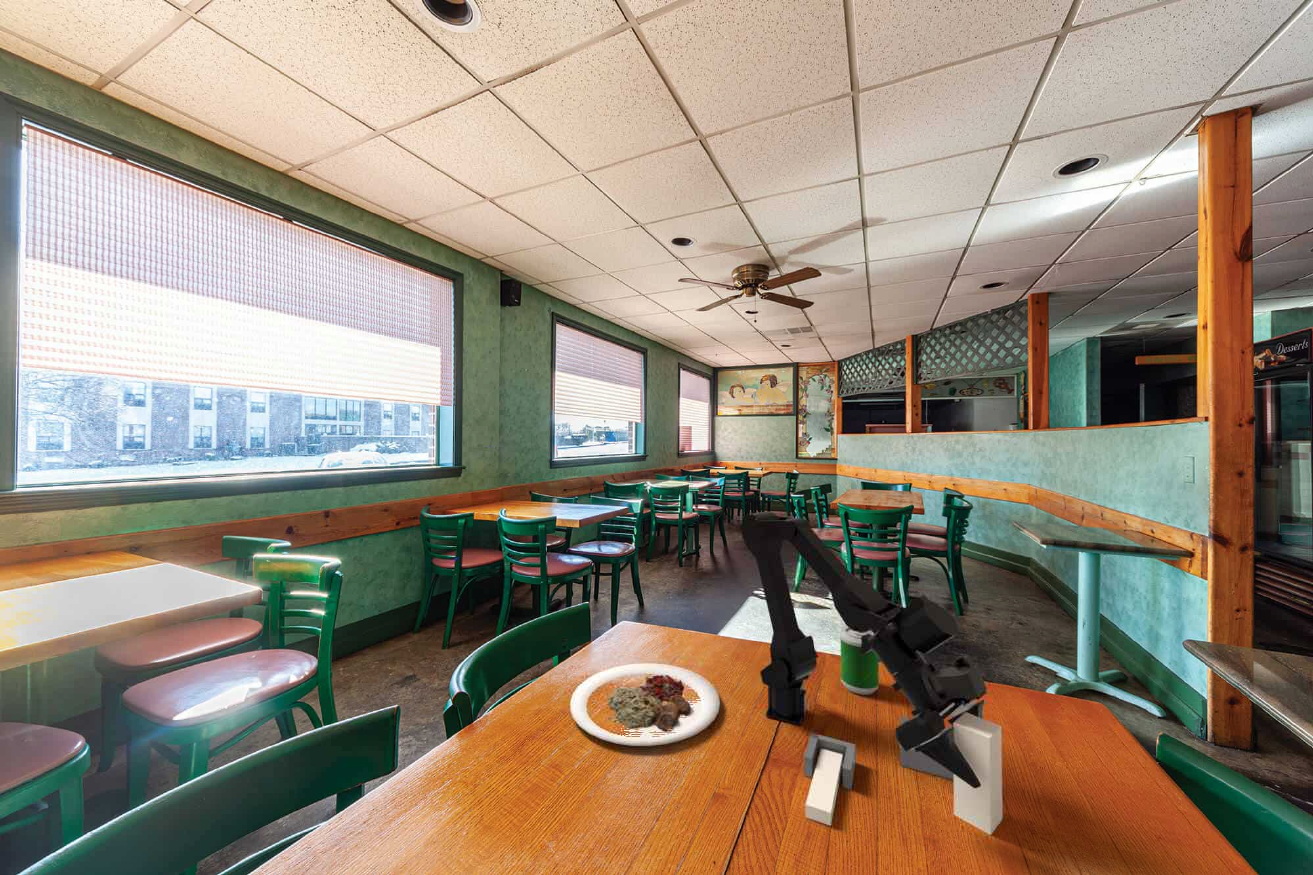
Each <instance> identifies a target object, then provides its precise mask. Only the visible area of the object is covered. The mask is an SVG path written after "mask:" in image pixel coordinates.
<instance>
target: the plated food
mask: <svg viewBox="0 0 1313 875" xmlns="http://www.w3.org/2000/svg"><path fill="white" fill-rule="evenodd" d="M643 674H653V675H656V676H652V678H650V677H649V678H648V677H646V680H645V681H646V682H645V683H644V685H642V686H638V687H631V688H627V687H620V688H618V689H616V690H615V692H614V693H613V695H609V697H610V698H609V699H608V698H607V699H608V700H609V701H608V703H607V704H608V705H610V709H611V710H613V711H616V714H615V715H616V716H612V717H610V718H607V719H611V718H613V717H615V718H616V719H618V720H613V722H616V721H619V722H620V723H621V724H622V725H624V726H623V727H627V729H630V730H624V731H629V732H635V731H638V732H643V733H630V734H629V735H625V736H624V735H622V736H621V735H617V734H613V733H610V732H608V731H606V730H604V729H602V728H600V727H599V726H597V725H596V724H595V723H594V722H593V721H592V720H591V719H590V717H589V715H588V713H587V702H588V698H589V696H591V694H592V692H594V691H595V690H596V689H598V687H600V686H602V685H604V684H605V683H608V682H609V681H612V680H613V679H617V678H619V677H624V676H626V675H643ZM660 675H661V676H660ZM674 679H677V680H678V682H677V681H675V680H674ZM682 683H685V685H688V686H689V687H691V689H693V690H695V692H697V694H698V696H699V697H700V699H696V700H701V701H692V702H697V703H689V702H690V701H688V702H687V701H686V700H685V698H684V697H682V694H683V690H684V685H683V684H682ZM689 689H690V688H689ZM619 690H621V691H619ZM693 698H694V697H693ZM663 701H667V702H668V703H667V704H665V705H662V702H663ZM569 702H570V706H569V707H570V708H569V709H570V714H571V716H572V718H573V720H574V721H575V723H576V724H577V725H578V726H579V727H580V728H581V729H582V730H584V731H585V732H587V733H588V734H589V735H591V736H594V737H596V738H597V739H600V740H603V741H607V742H608V743H609V742H610V743H614V744H616V745H617V744H618V745H625V746H632V747H633V746H635V747H636V746H639V747H651V746H659V745H660V746H661V745H667V744H672V743H676V742H680V741H683V740H685V739H687V738H691V737H693V736H695V735H697V734H699V733H701V732H702V731H703V730H705V729H706V728H708V727H709V726H710V725H711V723H713V721H715V719H716V717H717V715H718V713H720V712H719V710H720V706H721V701H720V696H719V693H718V691H717V690H716V688H715V686H714V685H713V684H712V682H710V681H709V680H708V679H706V678H705V677H703V676H702V675H700V674H698V673H696V672H695V671H692V670H689V669H686V668H683V667H679V666H676V665H670V664H665V663H654V662H652V663H649V662H648V663H632V664H624V665H620V666H615V667H611V668H608V669H605V670H603V671H600V672H597V673H595V674H593V675H592V676H590V677H588V678H587V679H585V680H584V681H583V682H582V683H581V684H579V685H578V686H577V688H576V689H575V690H574V691H573V694H572V696H571V699H570V701H569ZM690 704H693V705H690ZM612 707H613V708H612ZM691 711H694V712H691ZM692 713H693V714H692ZM680 715H685V716H680ZM679 717H686V718H679ZM678 719H679V720H678ZM616 724H617V723H616ZM652 725H656V726H652ZM646 727H647V728H646ZM621 729H622V728H621ZM635 729H639V730H635ZM661 729H662V730H661ZM668 729H672V730H668ZM621 731H622V730H621ZM655 731H656V732H667V731H671V732H676V733H649V732H655ZM626 734H628V733H626ZM631 734H641V735H631ZM653 734H660V735H653ZM661 734H665V735H661ZM626 736H630V737H626ZM631 736H640V737H631ZM652 736H660V737H652Z"/></svg>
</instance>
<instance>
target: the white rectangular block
mask: <svg viewBox="0 0 1313 875" xmlns="http://www.w3.org/2000/svg"><path fill="white" fill-rule="evenodd" d="M982 718H983V717H982ZM982 718H979V717H977V716H974V715H972V714H969V713H967V712H965V713H964V714H963V715H962V716H961V717H959V718H958V719H957V720H956V721H955V722H954V723H953V726H952V727H953V728H954V741H955V744H956V745H957V747H958V748H959V750H960V751H961V753H962V755H963V756H964V758H965V759H966V761H967V762H968V764H969V765H970V767H971V768H972V770H973V771H974V773H975V775H976V776H977V778H978V780H979V782H980V783H981V786H980V787H978V788H973V787H971V786H970V785H969V784H967V783H966V782H964V781H963V780H962V779H960V778H959V777H957V776H956V775H955V774H954V780H953V815H954V816H956V817H957V818H959V819H961V820H963V821H965V823H966V822H967V823H968V824H970V825H972V826H973V827H976V828H977V829H978V830H981V831H983V832H984V833H986V834H987V835H990V836H991V835H992V834H993V833H994V831H995V830H996V829H997V827H998V826H999V824H1000V823H1001V822H1002V821H1003V776H1002V775H1003V759H1002V758H1003V757H1002V754H1003V753H1002V751H1003V750H1002V749H1003V747H1002V745H1003V744H1002V725H999V724H997V723H994V722H992V721H989V720H986V719H984V718H983V719H982Z"/></svg>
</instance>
